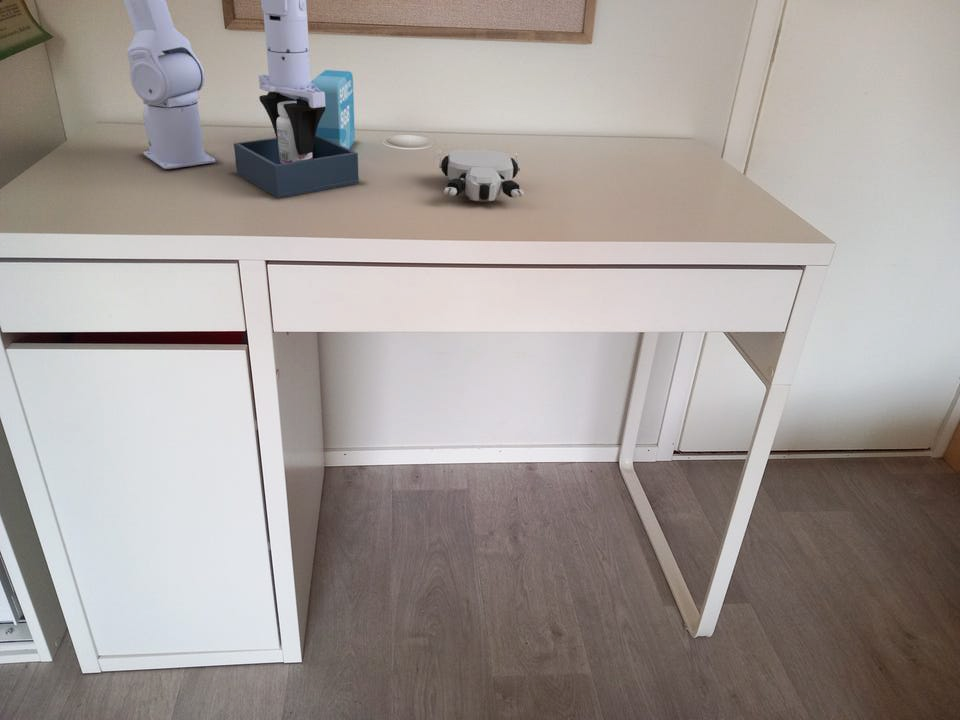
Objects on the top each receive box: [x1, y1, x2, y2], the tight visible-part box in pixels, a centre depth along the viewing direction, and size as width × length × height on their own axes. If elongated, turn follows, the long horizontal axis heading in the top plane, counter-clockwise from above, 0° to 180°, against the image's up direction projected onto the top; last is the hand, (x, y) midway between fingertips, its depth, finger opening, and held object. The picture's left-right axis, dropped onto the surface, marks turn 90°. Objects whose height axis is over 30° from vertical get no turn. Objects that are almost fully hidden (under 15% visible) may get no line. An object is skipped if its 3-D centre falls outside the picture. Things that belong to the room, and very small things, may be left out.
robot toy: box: [438, 148, 525, 203], centre depth 109 cm, size 12×4×15 cm
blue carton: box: [311, 69, 356, 149], centre depth 122 cm, size 12×4×12 cm, turn 178°
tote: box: [233, 134, 360, 199], centre depth 109 cm, size 13×13×5 cm
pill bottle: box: [276, 101, 313, 163], centre depth 107 cm, size 5×5×8 cm
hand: (295, 148), depth 108 cm, fingers closed on pill bottle, 5 cm apart
